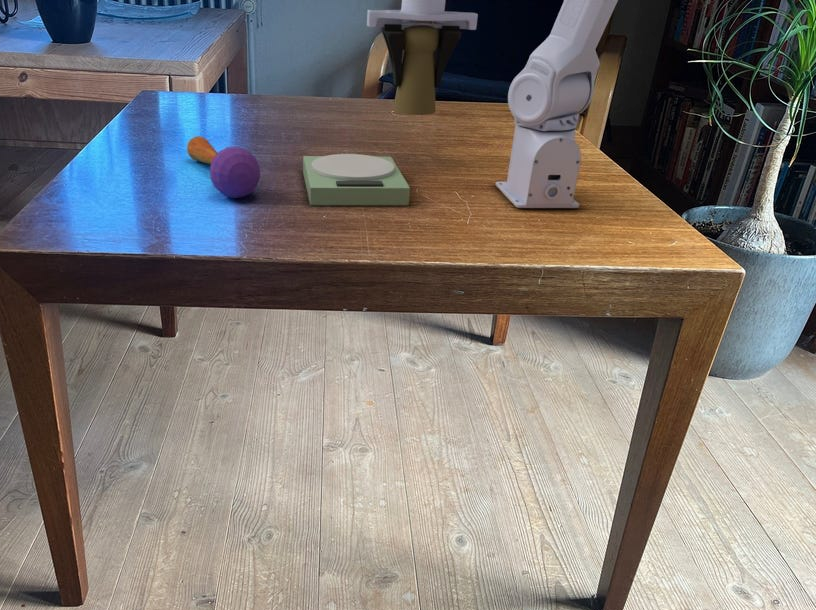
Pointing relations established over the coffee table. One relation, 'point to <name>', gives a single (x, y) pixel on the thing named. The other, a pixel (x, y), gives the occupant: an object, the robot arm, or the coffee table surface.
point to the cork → (417, 72)
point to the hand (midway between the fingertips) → (416, 85)
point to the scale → (354, 180)
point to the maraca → (227, 167)
